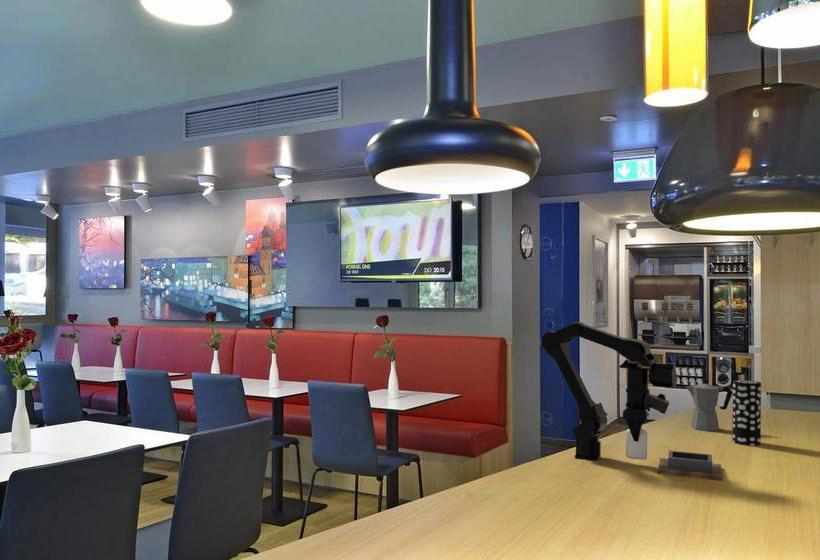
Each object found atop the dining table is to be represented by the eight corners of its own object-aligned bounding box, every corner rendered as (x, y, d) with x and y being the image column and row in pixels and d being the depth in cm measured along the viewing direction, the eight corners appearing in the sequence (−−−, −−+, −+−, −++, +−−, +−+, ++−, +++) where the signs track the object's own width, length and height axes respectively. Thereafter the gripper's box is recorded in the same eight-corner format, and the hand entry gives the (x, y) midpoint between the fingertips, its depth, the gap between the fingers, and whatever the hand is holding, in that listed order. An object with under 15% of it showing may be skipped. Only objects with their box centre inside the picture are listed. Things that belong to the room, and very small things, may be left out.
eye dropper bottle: (642, 461, 187) (642, 417, 187) (623, 457, 191) (624, 415, 191) (649, 458, 190) (650, 416, 190) (631, 455, 194) (631, 413, 194)
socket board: (657, 473, 182) (657, 469, 182) (660, 461, 195) (660, 458, 195) (722, 480, 176) (723, 476, 176) (720, 467, 189) (720, 464, 189)
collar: (667, 468, 183) (668, 457, 183) (669, 460, 191) (669, 450, 191) (712, 473, 179) (712, 462, 179) (711, 465, 187) (711, 454, 187)
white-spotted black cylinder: (765, 446, 217) (766, 383, 217) (739, 445, 217) (740, 383, 217) (752, 440, 225) (753, 380, 225) (727, 439, 225) (728, 379, 226)
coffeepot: (685, 429, 241) (686, 379, 241) (684, 424, 250) (685, 376, 250) (733, 433, 236) (733, 381, 236) (730, 428, 245) (731, 378, 245)
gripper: (666, 391, 179) (665, 450, 179) (668, 382, 196) (668, 436, 196) (622, 388, 183) (622, 445, 183) (628, 380, 201) (628, 432, 200)
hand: (636, 440), depth 191 cm, fingers closed on eye dropper bottle, 3 cm apart
